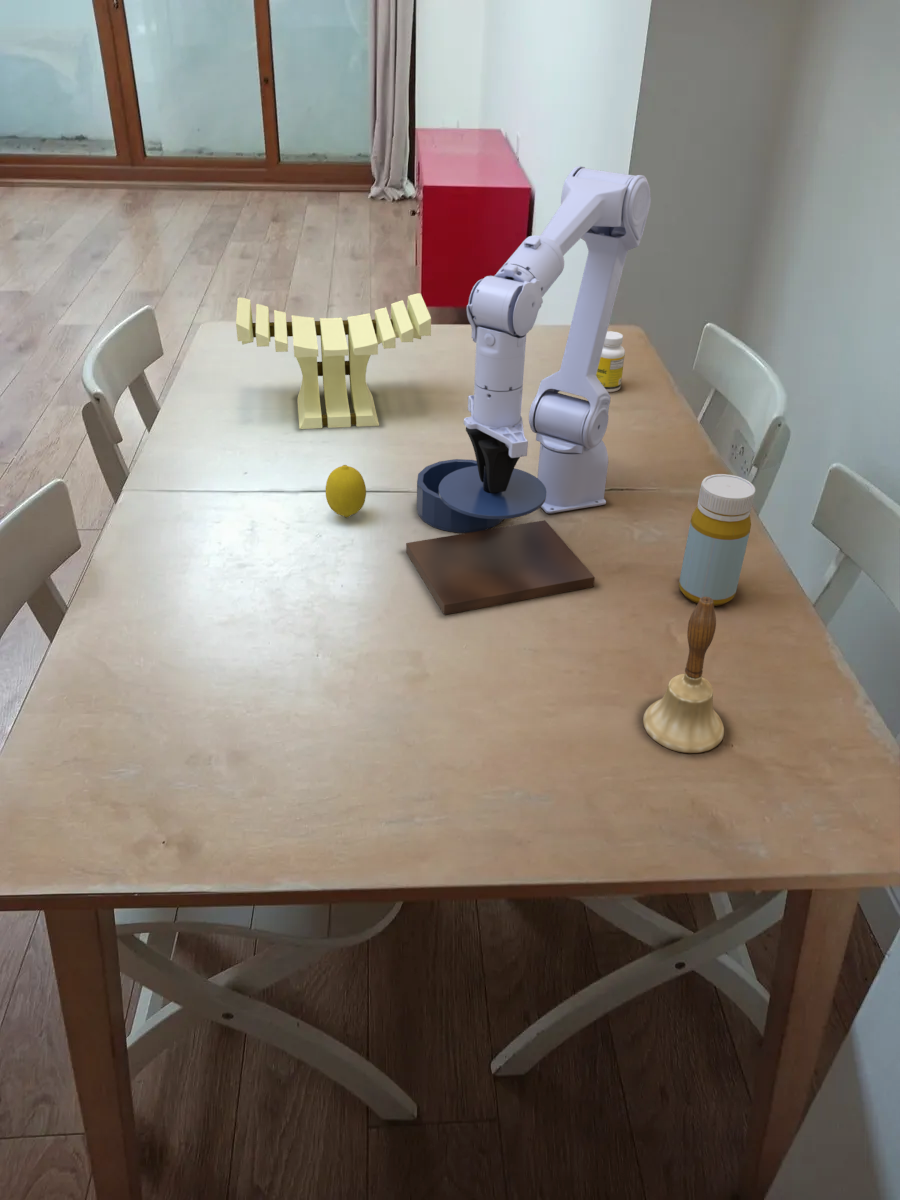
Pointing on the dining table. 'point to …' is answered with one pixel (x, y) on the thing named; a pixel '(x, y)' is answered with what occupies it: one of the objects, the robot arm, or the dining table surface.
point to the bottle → (717, 539)
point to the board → (497, 566)
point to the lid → (491, 494)
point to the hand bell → (689, 695)
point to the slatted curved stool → (335, 354)
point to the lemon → (345, 491)
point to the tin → (436, 509)
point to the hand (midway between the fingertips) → (493, 485)
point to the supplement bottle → (611, 362)
